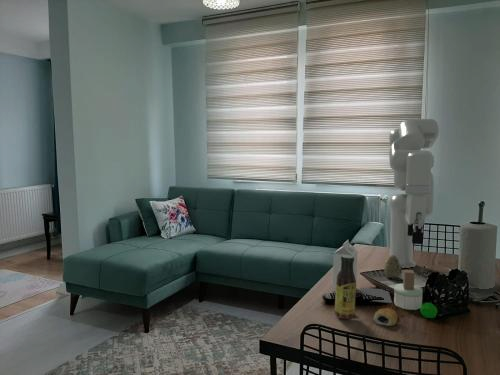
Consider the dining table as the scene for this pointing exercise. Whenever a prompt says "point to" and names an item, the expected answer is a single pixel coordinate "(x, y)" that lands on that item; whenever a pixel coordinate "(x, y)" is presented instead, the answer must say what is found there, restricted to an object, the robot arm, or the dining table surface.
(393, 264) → the decorative egg
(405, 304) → the bowl
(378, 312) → the pastry
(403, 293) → the lid
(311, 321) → the dining table surface
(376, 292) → the mat
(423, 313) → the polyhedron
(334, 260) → the milk carton
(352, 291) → the sauce bottle
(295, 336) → the dining table surface
